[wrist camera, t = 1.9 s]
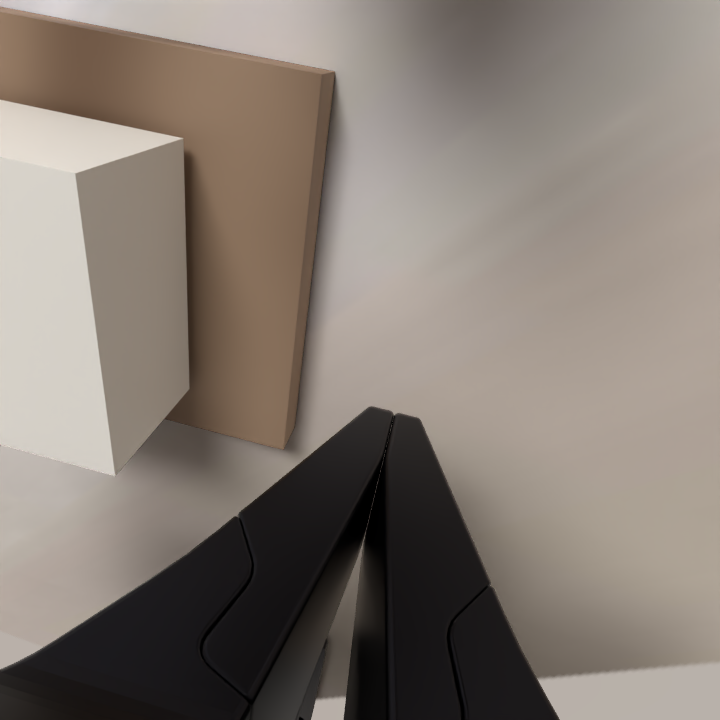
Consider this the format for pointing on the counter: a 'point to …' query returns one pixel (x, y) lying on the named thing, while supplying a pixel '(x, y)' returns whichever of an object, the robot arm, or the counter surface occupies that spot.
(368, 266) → the counter surface
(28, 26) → the base
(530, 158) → the counter surface
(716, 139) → the counter surface
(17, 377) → the gauge carriage
